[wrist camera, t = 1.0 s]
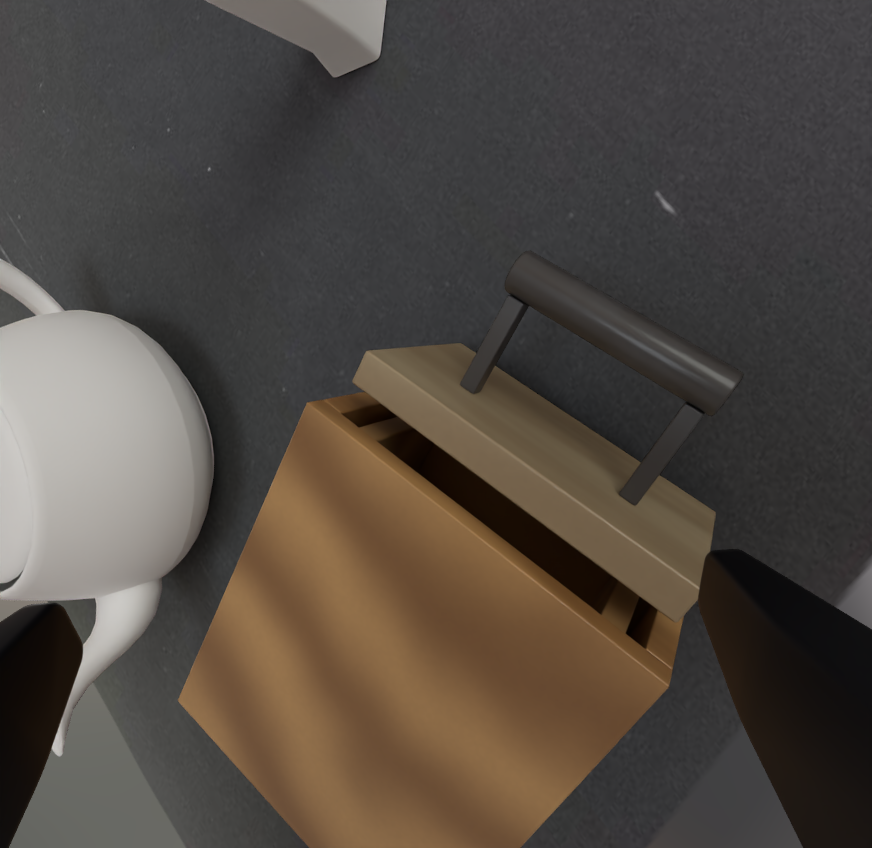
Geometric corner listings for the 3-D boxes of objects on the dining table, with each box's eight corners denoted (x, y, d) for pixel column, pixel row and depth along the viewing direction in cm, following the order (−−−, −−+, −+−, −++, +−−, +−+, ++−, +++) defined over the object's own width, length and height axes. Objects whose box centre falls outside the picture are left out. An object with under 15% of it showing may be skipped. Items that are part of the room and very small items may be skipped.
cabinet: (435, 377, 26) (306, 402, 18) (695, 559, 22) (670, 686, 14) (314, 609, 31) (177, 700, 24) (504, 786, 27) (413, 964, 20)
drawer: (517, 234, 22) (433, 202, 16) (809, 400, 18) (840, 438, 13) (335, 578, 29) (229, 645, 23) (522, 747, 25) (455, 877, 19)
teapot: (26, 310, 39) (-245, 306, 28) (165, 198, 32) (-133, 135, 21) (148, 664, 39) (-79, 794, 28) (317, 637, 31) (95, 802, 21)
